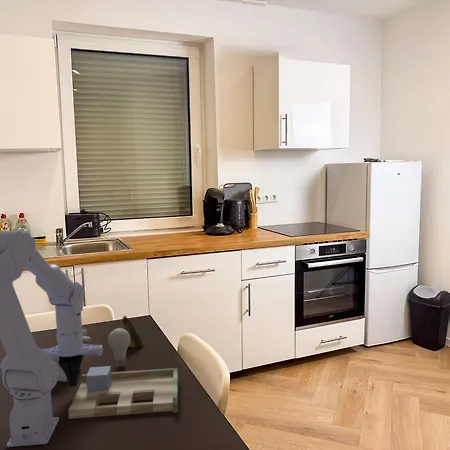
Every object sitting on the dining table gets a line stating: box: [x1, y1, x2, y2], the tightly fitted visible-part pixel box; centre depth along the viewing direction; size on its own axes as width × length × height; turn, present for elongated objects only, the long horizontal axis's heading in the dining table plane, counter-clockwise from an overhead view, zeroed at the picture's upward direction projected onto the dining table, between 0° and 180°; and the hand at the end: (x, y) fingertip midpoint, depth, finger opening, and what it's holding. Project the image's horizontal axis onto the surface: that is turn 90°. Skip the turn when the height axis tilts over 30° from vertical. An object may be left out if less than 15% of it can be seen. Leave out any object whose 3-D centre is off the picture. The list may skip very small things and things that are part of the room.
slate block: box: [86, 365, 112, 392], centre depth 112 cm, size 5×5×4 cm
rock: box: [113, 315, 145, 348], centre depth 146 cm, size 11×9×10 cm
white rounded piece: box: [55, 328, 92, 343], centre depth 146 cm, size 10×5×15 cm
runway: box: [68, 367, 179, 420], centre depth 109 cm, size 16×24×4 cm, turn 95°
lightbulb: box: [107, 328, 130, 368], centre depth 127 cm, size 6×6×11 cm
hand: (73, 384), depth 112 cm, fingers closed
